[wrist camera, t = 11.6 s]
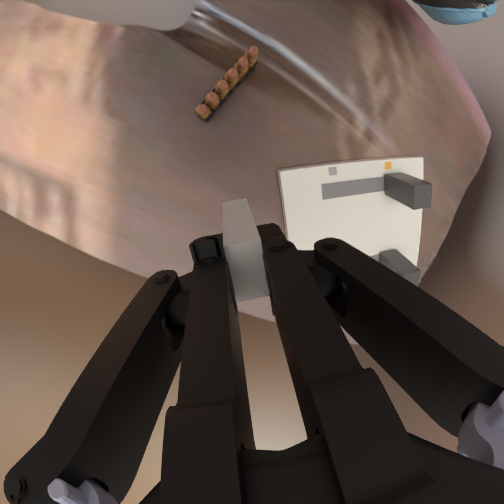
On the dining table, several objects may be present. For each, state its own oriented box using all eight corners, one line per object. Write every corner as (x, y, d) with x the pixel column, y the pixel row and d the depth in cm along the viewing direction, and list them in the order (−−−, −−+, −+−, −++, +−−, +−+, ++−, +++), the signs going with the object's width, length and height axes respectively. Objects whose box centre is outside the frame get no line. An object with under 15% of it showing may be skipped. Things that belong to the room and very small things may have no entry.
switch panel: (292, 291, 50) (294, 298, 48) (277, 169, 40) (280, 171, 38) (411, 263, 50) (416, 268, 48) (416, 155, 41) (423, 157, 39)
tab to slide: (385, 194, 41) (413, 209, 34) (384, 173, 39) (414, 185, 32) (401, 192, 41) (430, 207, 34) (401, 172, 39) (431, 183, 32)
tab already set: (379, 269, 47) (401, 293, 40) (380, 252, 45) (403, 275, 38) (394, 265, 47) (417, 288, 40) (396, 249, 45) (420, 270, 38)
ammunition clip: (244, 61, 32) (254, 36, 22) (254, 68, 33) (268, 46, 22) (196, 115, 35) (186, 110, 25) (207, 122, 36) (201, 120, 25)
